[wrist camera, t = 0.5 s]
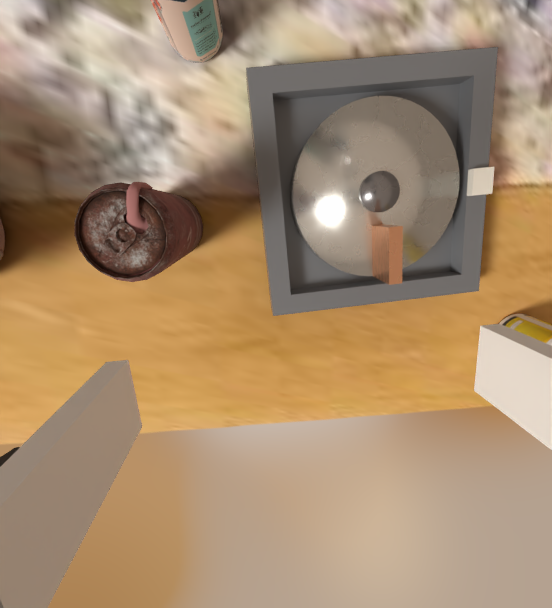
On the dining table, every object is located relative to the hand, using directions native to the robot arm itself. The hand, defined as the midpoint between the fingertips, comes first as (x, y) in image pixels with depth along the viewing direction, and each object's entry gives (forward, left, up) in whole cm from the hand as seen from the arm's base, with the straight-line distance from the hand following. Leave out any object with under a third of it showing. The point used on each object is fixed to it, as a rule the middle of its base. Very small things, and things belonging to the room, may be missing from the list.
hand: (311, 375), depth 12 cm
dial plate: (-7, +11, -24) cm, 27 cm away
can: (-6, -9, -24) cm, 26 cm away
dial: (-7, +11, -22) cm, 26 cm away
